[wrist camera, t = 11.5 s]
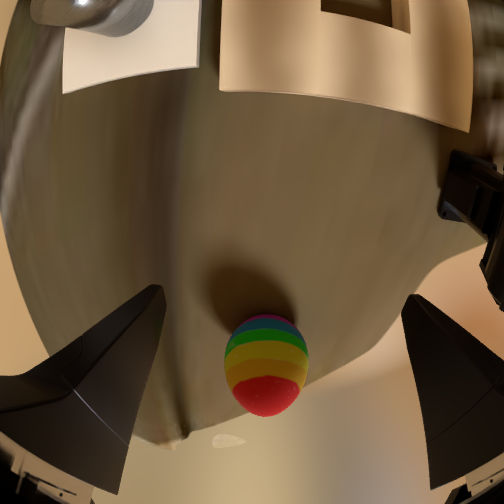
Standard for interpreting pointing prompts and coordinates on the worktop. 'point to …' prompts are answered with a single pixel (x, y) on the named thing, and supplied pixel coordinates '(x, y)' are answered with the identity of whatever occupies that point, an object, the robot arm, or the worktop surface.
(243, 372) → the decorative egg
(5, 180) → the worktop surface
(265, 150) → the worktop surface
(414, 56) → the pocket block
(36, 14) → the metal part
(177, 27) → the ceramic tile
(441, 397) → the robot arm
